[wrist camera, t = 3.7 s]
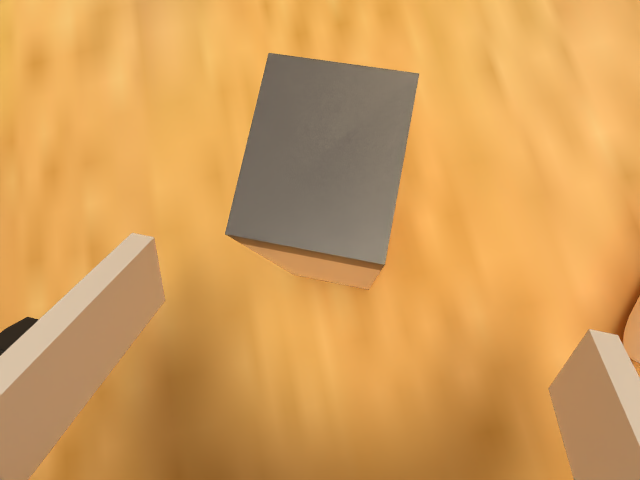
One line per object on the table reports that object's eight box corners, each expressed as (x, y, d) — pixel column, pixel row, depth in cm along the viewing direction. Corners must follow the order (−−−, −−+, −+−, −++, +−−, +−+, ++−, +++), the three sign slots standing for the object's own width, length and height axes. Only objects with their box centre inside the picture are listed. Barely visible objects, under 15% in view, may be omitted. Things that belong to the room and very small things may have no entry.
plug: (294, 274, 22) (225, 233, 10) (313, 185, 23) (269, 53, 11) (368, 289, 22) (384, 264, 10) (385, 198, 22) (419, 73, 11)
